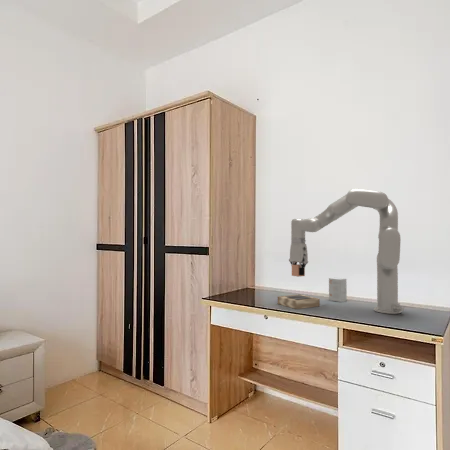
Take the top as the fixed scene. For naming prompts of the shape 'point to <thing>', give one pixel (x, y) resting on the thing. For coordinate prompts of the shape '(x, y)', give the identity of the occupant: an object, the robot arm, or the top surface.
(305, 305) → the square wooden tray
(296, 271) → the terracotta block
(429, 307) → the top surface
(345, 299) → the small box
